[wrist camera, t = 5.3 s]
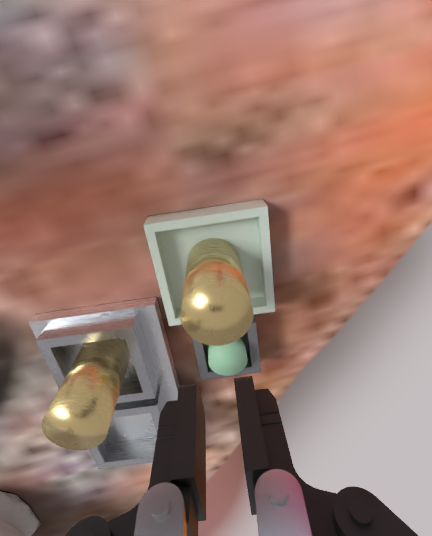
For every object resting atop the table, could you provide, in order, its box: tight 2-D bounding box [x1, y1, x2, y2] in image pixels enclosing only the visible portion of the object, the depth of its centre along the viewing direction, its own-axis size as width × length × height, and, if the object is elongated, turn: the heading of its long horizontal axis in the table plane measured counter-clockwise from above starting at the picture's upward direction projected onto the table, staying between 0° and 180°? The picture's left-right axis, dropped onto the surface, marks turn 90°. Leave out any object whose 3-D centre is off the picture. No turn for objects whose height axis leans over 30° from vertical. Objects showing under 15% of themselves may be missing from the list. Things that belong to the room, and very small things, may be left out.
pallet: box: [29, 297, 180, 469], centre depth 27 cm, size 16×10×3 cm, turn 8°
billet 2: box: [180, 238, 254, 346], centre depth 20 cm, size 4×4×7 cm
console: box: [192, 316, 261, 380], centre depth 26 cm, size 5×5×2 cm
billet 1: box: [42, 338, 131, 450], centre depth 23 cm, size 4×4×7 cm
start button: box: [208, 336, 248, 376], centre depth 25 cm, size 3×3×2 cm
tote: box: [143, 199, 275, 326], centre depth 23 cm, size 8×8×2 cm
